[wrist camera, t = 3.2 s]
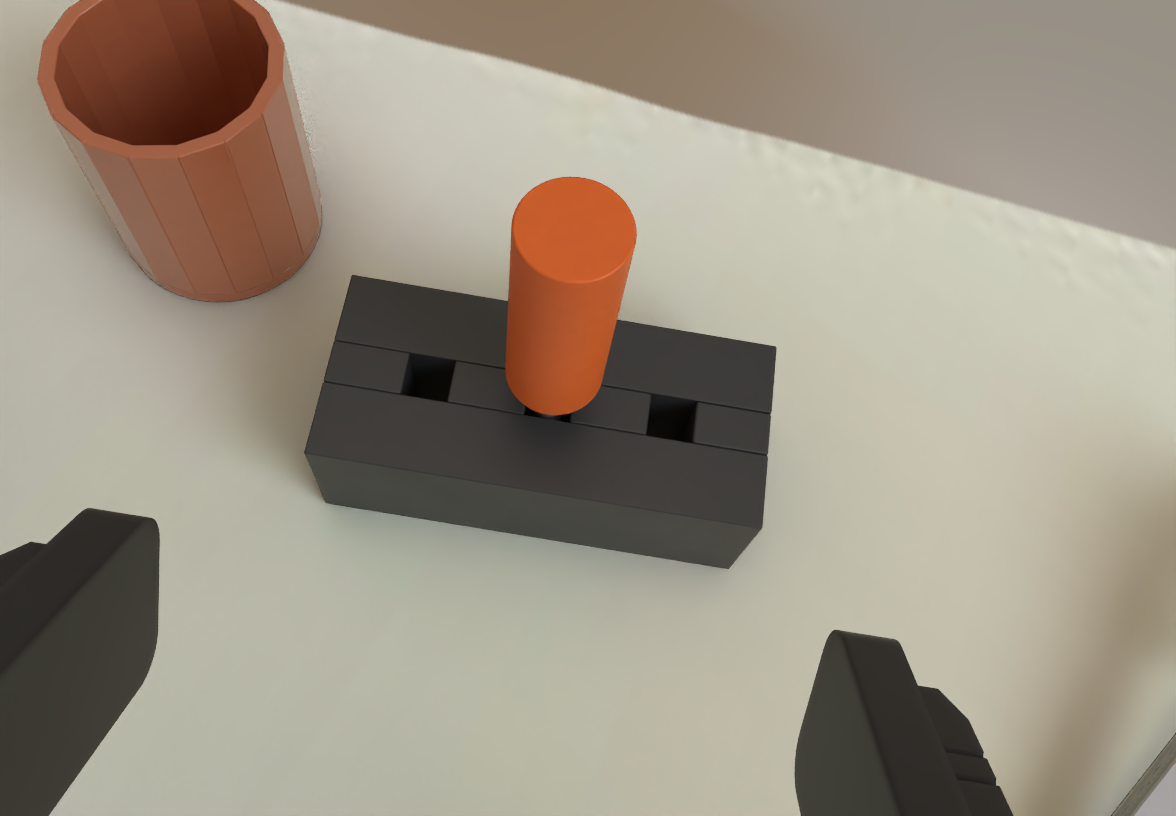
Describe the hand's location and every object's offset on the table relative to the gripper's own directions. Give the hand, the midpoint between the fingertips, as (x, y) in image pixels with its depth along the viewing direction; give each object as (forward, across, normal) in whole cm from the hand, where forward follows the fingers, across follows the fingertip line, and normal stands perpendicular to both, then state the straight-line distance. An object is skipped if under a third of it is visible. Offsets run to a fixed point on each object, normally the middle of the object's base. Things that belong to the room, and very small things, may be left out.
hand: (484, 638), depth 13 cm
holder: (+25, 0, +9) cm, 27 cm away
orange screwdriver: (+25, 0, +9) cm, 27 cm away
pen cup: (+30, +14, +3) cm, 33 cm away
